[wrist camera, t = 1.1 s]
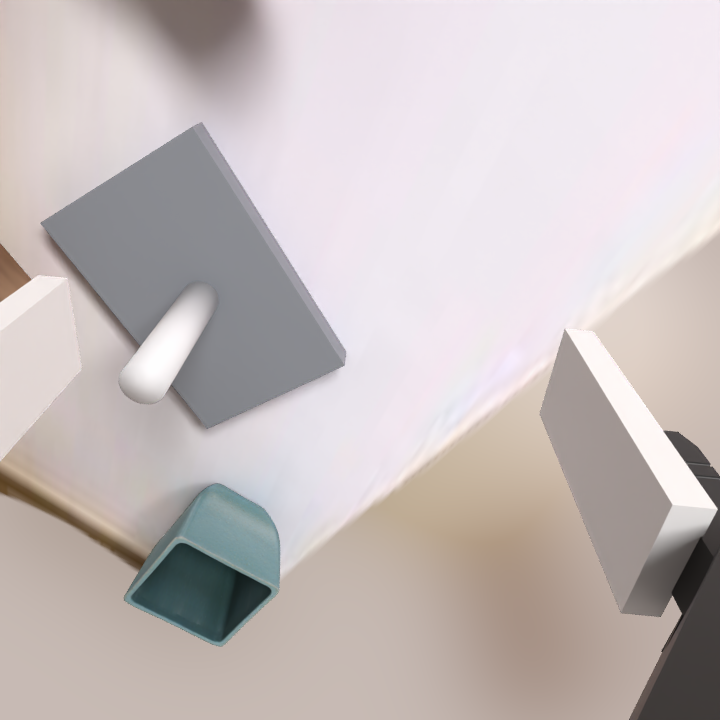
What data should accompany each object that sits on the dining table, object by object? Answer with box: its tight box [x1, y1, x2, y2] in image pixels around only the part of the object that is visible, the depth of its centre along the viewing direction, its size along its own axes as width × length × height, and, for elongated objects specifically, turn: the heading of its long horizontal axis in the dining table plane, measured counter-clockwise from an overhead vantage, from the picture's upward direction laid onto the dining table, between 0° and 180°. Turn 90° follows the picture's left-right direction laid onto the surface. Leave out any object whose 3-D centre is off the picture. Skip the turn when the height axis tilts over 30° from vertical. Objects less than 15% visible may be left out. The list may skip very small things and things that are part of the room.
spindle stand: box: [41, 122, 346, 429], centre depth 35 cm, size 18×12×13 cm, turn 29°
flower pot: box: [124, 484, 280, 647], centre depth 48 cm, size 9×9×9 cm
